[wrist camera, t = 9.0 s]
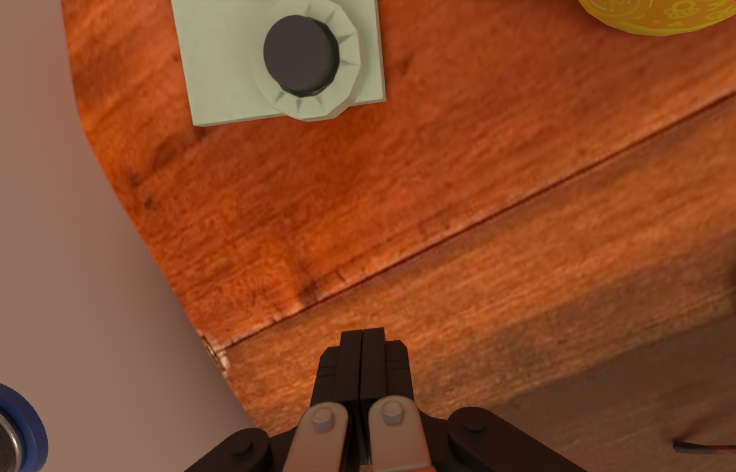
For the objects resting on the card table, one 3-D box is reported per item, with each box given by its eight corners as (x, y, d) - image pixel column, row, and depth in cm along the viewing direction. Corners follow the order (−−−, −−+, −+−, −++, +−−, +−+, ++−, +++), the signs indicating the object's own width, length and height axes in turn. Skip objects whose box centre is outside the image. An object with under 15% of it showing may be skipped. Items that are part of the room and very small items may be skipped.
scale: (205, 138, 27) (176, 136, 25) (173, -48, 25) (137, -74, 22) (387, 113, 24) (379, 108, 22) (368, -99, 22) (356, -136, 19)
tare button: (281, 96, 23) (268, 92, 21) (272, 31, 22) (257, 21, 21) (339, 87, 22) (330, 82, 21) (332, 19, 22) (322, 8, 20)
